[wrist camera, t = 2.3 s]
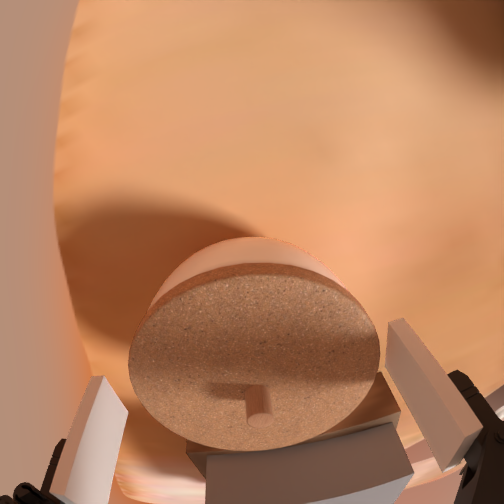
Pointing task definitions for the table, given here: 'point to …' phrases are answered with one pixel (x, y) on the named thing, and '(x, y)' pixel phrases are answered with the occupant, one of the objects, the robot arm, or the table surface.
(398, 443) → the grey square slab
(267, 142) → the table surface
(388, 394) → the tower base
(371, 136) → the table surface
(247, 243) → the lidded jar
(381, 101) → the table surface
